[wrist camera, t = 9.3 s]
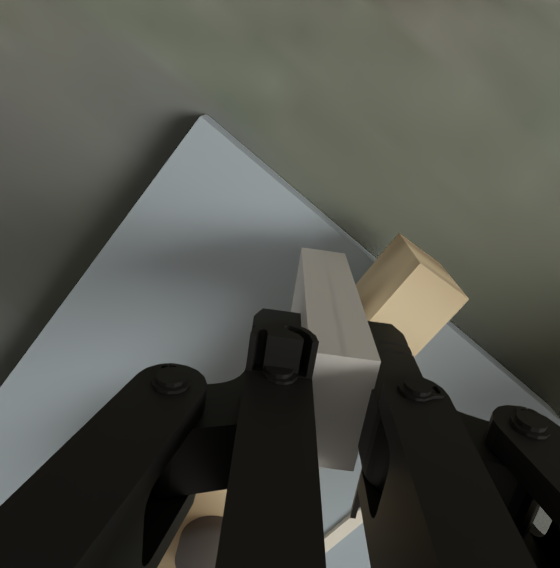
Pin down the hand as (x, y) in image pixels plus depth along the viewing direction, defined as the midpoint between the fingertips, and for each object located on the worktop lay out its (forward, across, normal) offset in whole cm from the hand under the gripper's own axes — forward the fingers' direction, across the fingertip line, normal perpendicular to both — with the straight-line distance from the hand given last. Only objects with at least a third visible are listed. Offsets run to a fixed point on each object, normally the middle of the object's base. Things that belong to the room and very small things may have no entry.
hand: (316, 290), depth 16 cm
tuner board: (+3, -2, -9) cm, 9 cm away
